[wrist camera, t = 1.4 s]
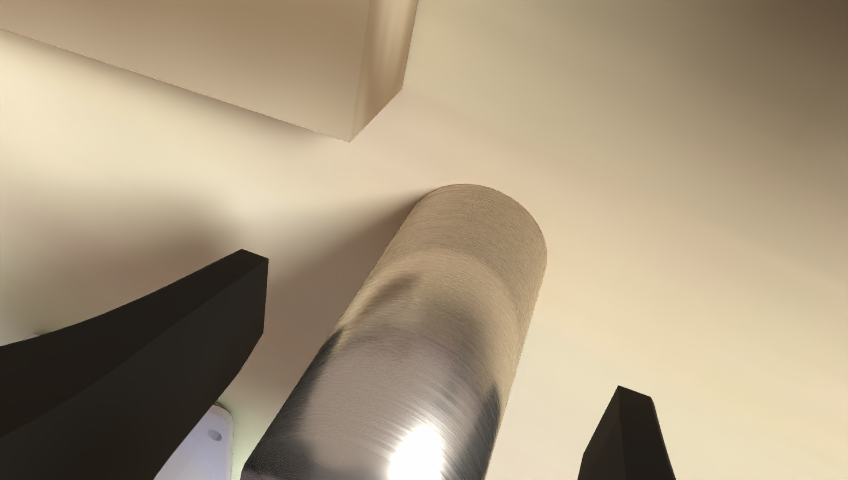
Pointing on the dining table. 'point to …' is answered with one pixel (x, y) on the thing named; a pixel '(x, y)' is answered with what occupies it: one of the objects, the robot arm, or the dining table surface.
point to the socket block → (243, 50)
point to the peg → (418, 351)
